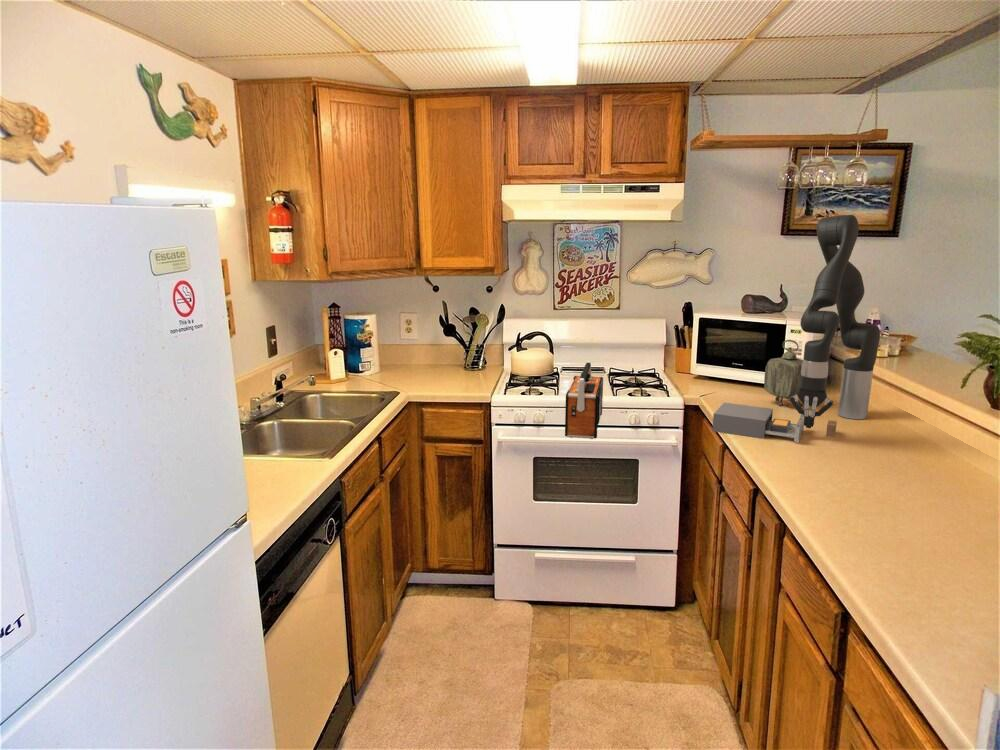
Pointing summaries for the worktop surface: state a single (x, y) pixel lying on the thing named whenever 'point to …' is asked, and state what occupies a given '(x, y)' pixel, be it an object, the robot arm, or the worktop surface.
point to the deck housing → (741, 420)
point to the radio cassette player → (584, 405)
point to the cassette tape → (780, 425)
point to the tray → (793, 431)
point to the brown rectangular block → (831, 428)
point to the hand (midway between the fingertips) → (808, 427)
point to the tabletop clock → (783, 375)
